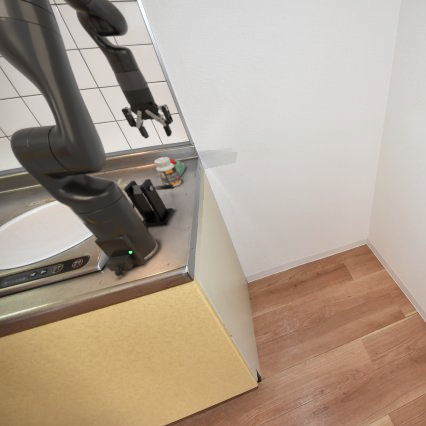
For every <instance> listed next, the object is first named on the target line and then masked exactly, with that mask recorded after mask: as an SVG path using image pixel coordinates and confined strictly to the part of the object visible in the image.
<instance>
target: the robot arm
mask: <svg viewBox="0 0 426 426" xmlns="http://www.w3.org/2000/svg"><path fill="white" fill-rule="evenodd" d="M63 1H64V3H66V5H68V6H69V7H70V8H71V9H73V10H74V11H76V13H75V14H76V18H77V20H78V22H79V24H80V26H81V27H82V28H83V30H84V31H85V32H86V34H87V35H88V36H89V37H90V39H92V41H93V42H94V43H95V45H96V46H97V47H98V48H99V50H100V52H102V54H103V55H104V57H105V58H106V61H107V63H108V64H109V66H110V69H111V71H112V72H113V75H114V77H115V79H116V82H117V84H118V86H119V88H120V90H121V92H122V94H123V96H124V97H125V99H126V100H125V101H127V103H128V104H129V105H130V106H129V107H128V106H125V107H123V108H122V109H121V113H122V114H123V116H124V118H125V119H126V121H127V123H128V125H129V127H131V128H136V129H138V132H139V133H140V135H141V137H142V138H144V139H148V138H149V137H150V135H149V132H148V131H147V129H146V127H145V126H144V121H148V120H151V121H153V120H154V121H156V122H158V123H159V124H160V125H161V126H162V128H163V130H164V132H165V134H166V137H167V138H168V137H171V136H172V134H173V132H172V129H171V126H170V125H171V124H172V123H173V122H174V119H173V116H172V114H171V111H170V109H169V106H168V105H167V104H165V103H164V104H162V105H158V104H157V103H156V100H155V98H154V96H153V93H152V91H151V89H150V87H149V84H148V82H147V80H146V78H145V76H144V74H143V72H142V70H141V68H140V67H139V64H138V62H137V59H136V58H135V55H134V53H133V51H132V50H131V49H130V48H129V47H127V46H122V45H117V44H114V43H112V42H111V40H109V39H108V38H109V37H123V36H125V35H127V34H128V31H129V25H128V22H127V19H126V18H125V16H124V15H123V13H122V12H121V10H120V9H119V8H118V7H117V6H116V5H115V4H114V3H113V2H111V1H110V0H63ZM0 56H1V57H2V58H3V59H4V60H5V61H6V62H8V64H10V65H11V66H12V67H13V68H14V69H15V70H17V71H18V72H19V73H20V74H21V75H22V76H24V77H25V78H26V79H27V80H28V81H29V82H30V83H31V84H32V85H33V86H34V87H35V88H36V89H37V90H38V91H39V93H40V94H41V95H42V97H43V98H44V100H45V102H46V103H47V106H48V107H49V110H50V111H51V114H52V116H53V119H54V123H55V124H52V125H40V126H30V127H24V128H20V129H18V130H17V129H16V130H15V131H14V132H13V133H12V134H11V137H10V141H9V143H10V149H11V151H12V154H13V156H14V158H15V160H17V162H18V163H19V165H20V166H21V167H22V168H23V169H24V171H26V172H27V174H28V175H30V176H31V177H32V179H34V180H35V181H36V183H38V184H39V186H41V187H42V188H43V189H44V190H45V191H46V193H48V194H49V195H50V196H51V197H52V198H53V199H54V200H55V201H57V202H58V203H60V204H62V205H64V206H65V207H67V208H69V209H70V211H72V213H73V214H74V215H75V216H76V217H77V218H78V219H79V221H80V222H81V223H82V224H83V225H84V226H85V227H86V228H87V229H88V231H89V232H90V233H91V234H92V235H93V236H94V237H95V238H96V239H95V240H94V243H95V244H96V245H97V247H98V248H99V249H100V250H101V251H102V252H103V253H104V254H105V255H106V256H107V258H108V259H107V260H106V262H105V263H104V265H105V267H107V268H108V270H109V271H110V272H114V275H115V276H116V277H121V276H123V275H124V274H125V273H124V271H123V270H131V269H132V268H133V267H135V266H142V265H145V263H146V262H147V261H148V260H150V259H151V258H152V257H153V256H154V255H155V254H156V253H157V252H158V250H159V243H158V241H157V240H156V239H155V238H154V236H153V234H152V233H151V232H150V231H149V229H148V227H146V226H145V224H144V223H143V220H142V217H140V215H139V214H138V212H137V211H136V209H135V207H133V205H132V203H131V202H130V200H129V199H128V198H127V196H126V195H125V192H124V191H123V190H122V189H121V188H120V186H119V185H118V184H117V182H115V181H114V180H112V179H108V178H104V177H103V178H102V177H98V176H94V175H91V174H94V173H95V174H96V173H99V172H101V171H102V170H104V168H105V166H106V163H107V156H106V151H105V146H104V144H103V141H102V139H101V137H100V134H99V132H98V130H97V128H96V125H95V123H94V121H93V118H92V115H91V113H90V112H89V110H88V107H87V105H86V102H85V100H84V98H83V95H82V93H81V91H80V88H79V85H78V82H77V79H76V77H75V74H74V73H75V72H74V70H73V68H72V65H71V61H70V59H69V56H68V53H67V49H66V44H65V42H64V38H63V35H62V32H61V30H60V26H59V23H58V21H57V18H56V15H55V12H54V10H53V7H52V5H51V2H50V0H0ZM159 111H160V112H161V113H162V114H161V113H160V112H159ZM133 114H134V115H136V119H135V117H134V115H133Z"/></svg>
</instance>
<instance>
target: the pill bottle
mask: <svg viewBox="0 0 426 426" xmlns="http://www.w3.org/2000/svg"><path fill="white" fill-rule="evenodd" d="M170 159H171V158H169V157H167V156H163V157H162V156H161V157H159V158H156V159H154V165H155V166H156V172H157V174H158V175H159V178H160V180H161V181H162V183H163V185H171V184H173V186H174V188H175V187H178V186H179V185H181V183H182V179H181V176H179V175H178V172H177V170H176V168H175V166H174V164H172V163H170Z"/></svg>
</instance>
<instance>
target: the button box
mask: <svg viewBox="0 0 426 426" xmlns="http://www.w3.org/2000/svg"><path fill="white" fill-rule="evenodd" d="M174 160H175V159H174ZM175 162H176V164H175V165H174V166H175V168H176V170H177V172H178V175H179V177H182V175H183V174H184V172H185V170H186V166H185V163H184V162H183V163H181V161H180V160H177V159H176V160H175Z"/></svg>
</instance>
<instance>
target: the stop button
mask: <svg viewBox="0 0 426 426" xmlns="http://www.w3.org/2000/svg"><path fill="white" fill-rule="evenodd" d="M169 159H170V163H172V164H174V165H175V164H176V162H175V159H174V158H169Z"/></svg>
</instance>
